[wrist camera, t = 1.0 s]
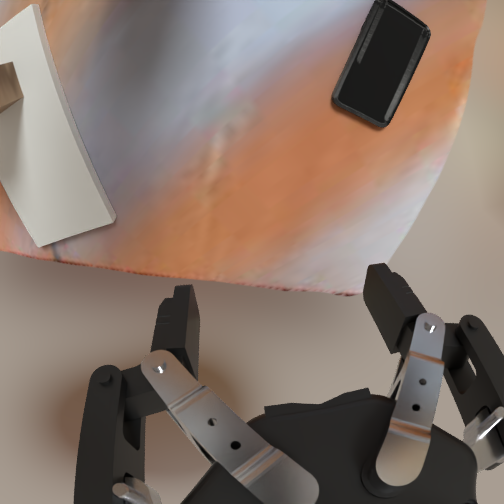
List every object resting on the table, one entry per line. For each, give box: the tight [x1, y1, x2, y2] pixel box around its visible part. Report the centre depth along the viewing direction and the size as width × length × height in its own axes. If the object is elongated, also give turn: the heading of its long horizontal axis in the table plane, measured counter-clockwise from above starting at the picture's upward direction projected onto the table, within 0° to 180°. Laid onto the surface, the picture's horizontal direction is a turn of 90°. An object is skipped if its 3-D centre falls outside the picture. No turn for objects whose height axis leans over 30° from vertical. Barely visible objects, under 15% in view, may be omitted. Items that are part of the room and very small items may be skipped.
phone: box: [332, 0, 431, 127], centre depth 26 cm, size 8×1×15 cm
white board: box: [0, 4, 117, 248], centre depth 26 cm, size 30×14×2 cm, turn 12°
